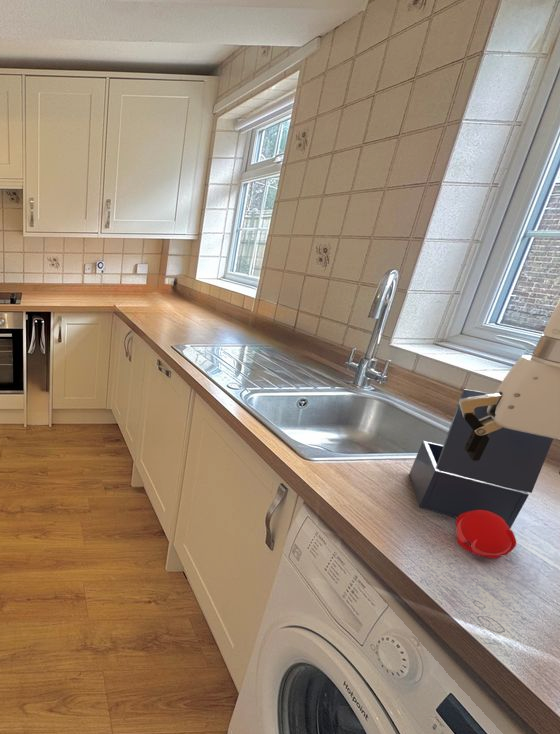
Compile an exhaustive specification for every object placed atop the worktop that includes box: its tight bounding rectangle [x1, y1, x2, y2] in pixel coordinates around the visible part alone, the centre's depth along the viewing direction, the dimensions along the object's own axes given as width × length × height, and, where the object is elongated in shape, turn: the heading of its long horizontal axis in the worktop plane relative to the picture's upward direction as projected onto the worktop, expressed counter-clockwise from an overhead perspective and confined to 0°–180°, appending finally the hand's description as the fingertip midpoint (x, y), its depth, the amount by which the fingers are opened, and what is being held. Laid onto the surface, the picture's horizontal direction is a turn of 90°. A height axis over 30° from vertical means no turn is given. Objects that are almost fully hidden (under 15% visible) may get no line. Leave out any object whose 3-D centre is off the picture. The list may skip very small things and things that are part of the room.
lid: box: [436, 388, 555, 494], centre depth 64 cm, size 14×11×6 cm
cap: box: [455, 510, 517, 559], centre depth 63 cm, size 8×6×6 cm
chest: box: [409, 440, 530, 530], centre depth 74 cm, size 13×11×8 cm
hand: (517, 467), depth 59 cm, fingers open, 9 cm apart
